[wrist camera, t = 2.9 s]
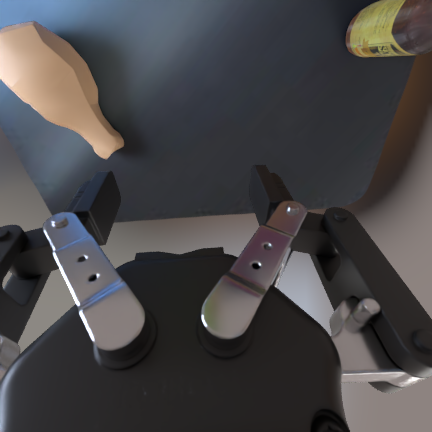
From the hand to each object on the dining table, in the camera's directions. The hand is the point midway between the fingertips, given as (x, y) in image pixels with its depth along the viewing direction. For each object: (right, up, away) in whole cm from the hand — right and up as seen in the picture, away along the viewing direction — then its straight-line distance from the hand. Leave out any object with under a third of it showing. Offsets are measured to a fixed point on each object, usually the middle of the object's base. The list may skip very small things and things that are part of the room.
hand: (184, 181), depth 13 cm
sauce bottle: (+24, +26, +21) cm, 41 cm away
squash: (-21, +18, +25) cm, 37 cm away
